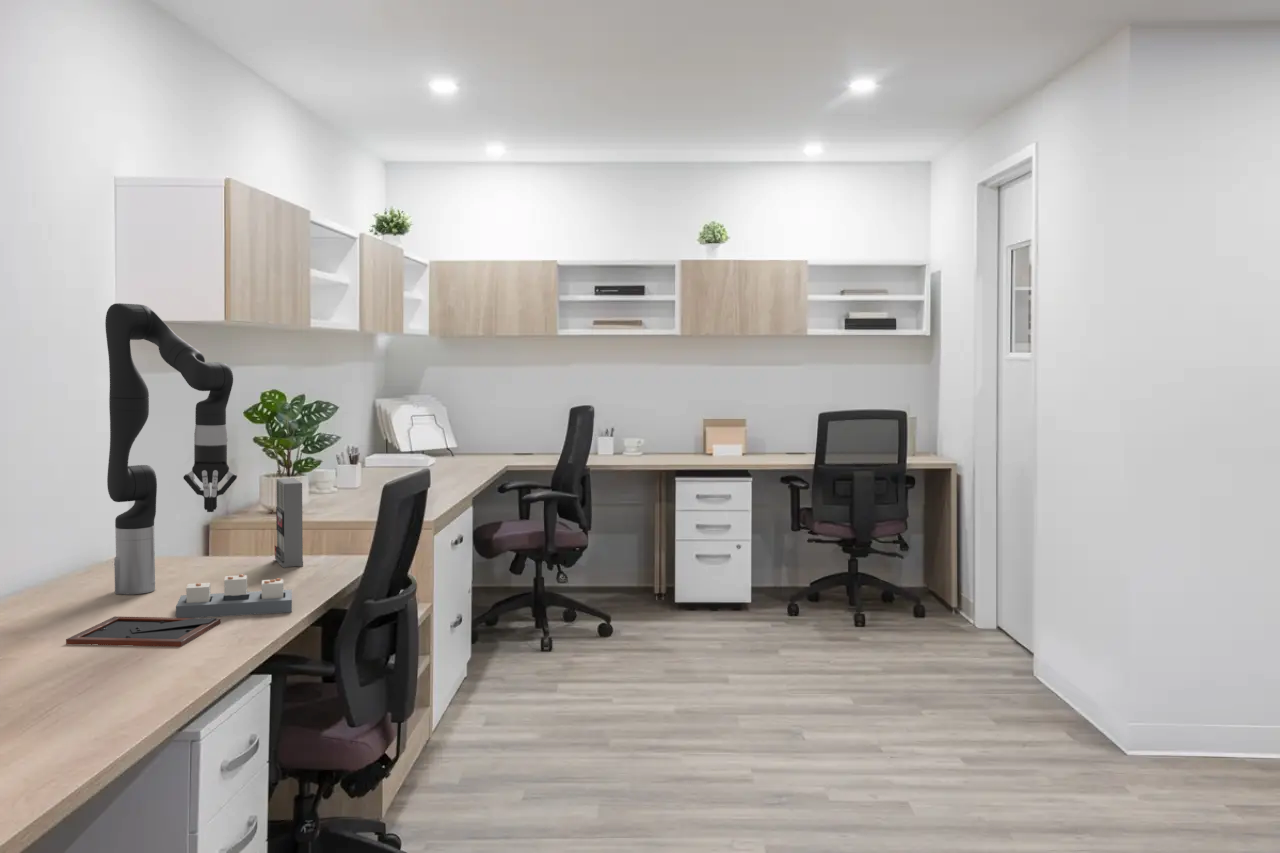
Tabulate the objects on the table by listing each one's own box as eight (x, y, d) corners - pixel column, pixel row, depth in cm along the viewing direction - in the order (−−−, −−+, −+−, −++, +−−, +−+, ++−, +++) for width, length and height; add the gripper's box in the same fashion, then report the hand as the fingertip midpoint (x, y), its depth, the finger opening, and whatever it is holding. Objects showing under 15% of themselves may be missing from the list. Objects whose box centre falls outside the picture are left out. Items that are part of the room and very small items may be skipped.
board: (176, 618, 247) (175, 606, 246) (181, 607, 258) (181, 595, 258) (291, 612, 255) (291, 599, 255) (291, 601, 266) (291, 589, 266)
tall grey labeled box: (274, 559, 320) (273, 478, 318) (294, 558, 323) (294, 478, 321) (281, 568, 308) (281, 483, 306) (303, 566, 310) (302, 483, 309)
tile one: (186, 605, 250) (186, 586, 250) (188, 601, 255) (188, 582, 255) (208, 604, 252) (208, 585, 252) (210, 600, 257) (210, 581, 256)
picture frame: (220, 625, 243) (114, 623, 244) (220, 617, 243) (114, 615, 244) (181, 649, 223) (66, 647, 224) (181, 640, 223) (65, 637, 224)
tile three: (261, 601, 256) (261, 582, 255) (262, 597, 260) (262, 578, 260) (283, 600, 257) (283, 581, 257) (283, 595, 262) (283, 577, 262)
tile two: (224, 597, 253) (224, 578, 253) (225, 593, 258) (225, 574, 257) (246, 596, 255) (246, 577, 254) (247, 592, 259) (247, 573, 259)
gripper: (180, 444, 254) (180, 514, 255) (238, 444, 258) (237, 513, 259) (183, 441, 261) (183, 509, 262) (240, 441, 265) (239, 508, 266)
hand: (210, 511), depth 260 cm, fingers closed
